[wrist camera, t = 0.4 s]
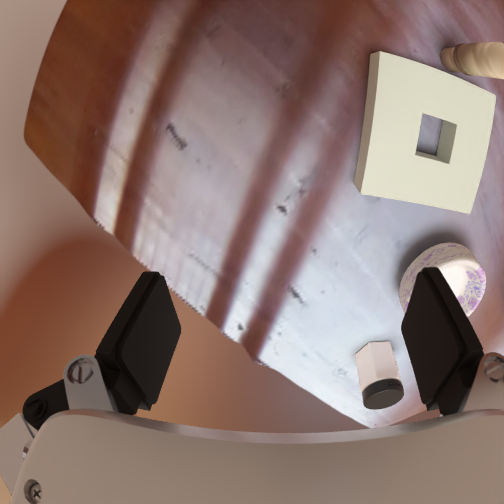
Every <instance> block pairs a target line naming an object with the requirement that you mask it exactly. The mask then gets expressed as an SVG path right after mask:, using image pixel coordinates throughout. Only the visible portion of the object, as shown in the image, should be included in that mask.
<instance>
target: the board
mask: <svg viewBox="0 0 504 504" xmlns="http://www.w3.org/2000/svg"><path fill="white" fill-rule="evenodd" d="M495 100H496V96H495V95H494V94H492V93H490V92H488V91H486V90H484V89H482V88H480V87H478V86H476V85H473V84H471V83H469V82H467V81H465V80H462V79H460V78H458V77H455V76H453V75H451V74H448V73H446V72H443V71H441V70H438V69H435V68H433V67H430V66H427V65H424V64H421V63H418V62H415V61H412V60H409V59H406V58H403V57H399V56H396V55H392V54H389V53H385V52H381V51H379V52H376V53H372V54H370V65H369V76H368V87H367V96H366V105H365V113H364V121H363V129H362V136H361V142H360V149H359V155H358V161H357V167H356V173H355V179H354V185H355V186H356V188H357V189H358V191H359V192H360V194H364V195H371V196H377V197H384V198H390V199H396V200H402V201H407V202H413V203H418V204H424V205H429V206H434V207H439V208H444V209H449V210H453V211H458V212H462V213H467V214H470V212H471V209H472V206H473V203H474V200H475V196H476V193H477V189H478V186H479V182H480V179H481V175H482V171H483V167H484V163H485V158H486V154H487V149H488V145H489V139H490V134H491V128H492V122H493V116H494V109H495ZM422 113H424V114H427V115H430V116H433V117H437V118H440V119H443V121H442V127H441V133H440V139H439V144H438V149H437V154H436V156H434V155H431V154H427V153H423V152H419V151H416V147H417V142H418V137H419V131H420V125H421V118H422Z"/></svg>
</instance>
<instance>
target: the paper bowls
mask: <svg viewBox="0 0 504 504" xmlns="http://www.w3.org/2000/svg"><path fill="white" fill-rule="evenodd" d="M424 267H438V268H439V270H440V271H441V273H442V274H443V276H444V278H445V279H446V281H447V282H448V284H449V286H450V287H451V289H452V291H453V293H454V294H455V296H456V298H457V299H458V301H459V303H460V305H461V307H462V308H463V310H464V312H465V314H466V316H467V317H468V316H469V315H470V314H471V313H472V312H473V311H474V310H475V309H476V307H477V306H478V304H479V303H480V301H481V299H482V297H483V294H484V291H485V287H486V276H485V272H484V269H483V268H482V266H481V264H480V263H479V262H478V261H477V259H476V258H475V257H474V255H473V254H472V253H471V252H470V251H469V250H468V249H467V248H466V247H465V246H463V245H461V244H458V243H452V242H449V243H441V244H438V245H435V246H432V247H430V248H429V249H427V250H425V251H424V252H422V253H421V254H420V255H419V256H418V257H417V258H416V259H415V260H414V261H413V262H412V263H411V264H410V266H409V267H408V268H407V270H406V271H405V273H404V275H403V277H402V280H401V283H400V287H399V297H400V302H401V305H402V307H403V311H404V313H406V310H407V306H408V303H409V300H410V297H411V294H412V290H413V287H414V284H415V280H416V277H417V274H418V272H420V271H421V270H422V269H423V268H424Z"/></svg>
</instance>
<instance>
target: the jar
mask: <svg viewBox="0 0 504 504" xmlns="http://www.w3.org/2000/svg"><path fill="white" fill-rule="evenodd" d="M355 357H356V363H357V370H358V377H359V384H360V391H361V392H362V396H363V404H364V406H365V407H366V408H368V409H383V408H387V407H390V406H392V405H394V404H396V403H397V402H399V401H400V400H401V399H402V398H403V396H404V391H403V386H402V383H401V379H400V374H399V369H398V365H397V361H396V358H395V355H394V351H393V349H392V346H391V344H390V342H389V341H384V342H369V343H368V344H367V345H366V346H364V347H363V348H362V349H361V350H360V351H359V352H357V353H356V354H355Z"/></svg>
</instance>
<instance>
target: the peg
mask: <svg viewBox="0 0 504 504" xmlns="http://www.w3.org/2000/svg"><path fill="white" fill-rule="evenodd" d="M440 59H441V62H442V64H443V66H444V67H445V68H446V69H447V70H448V71H451V72H462V73H463V74H465V75H470V76H484V77H492V78H500V79H504V44H503V43H500V42H486V43H470V44H458V45H457V46H456V47H451V48H444V49H443V50H442V51H441V54H440Z"/></svg>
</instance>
